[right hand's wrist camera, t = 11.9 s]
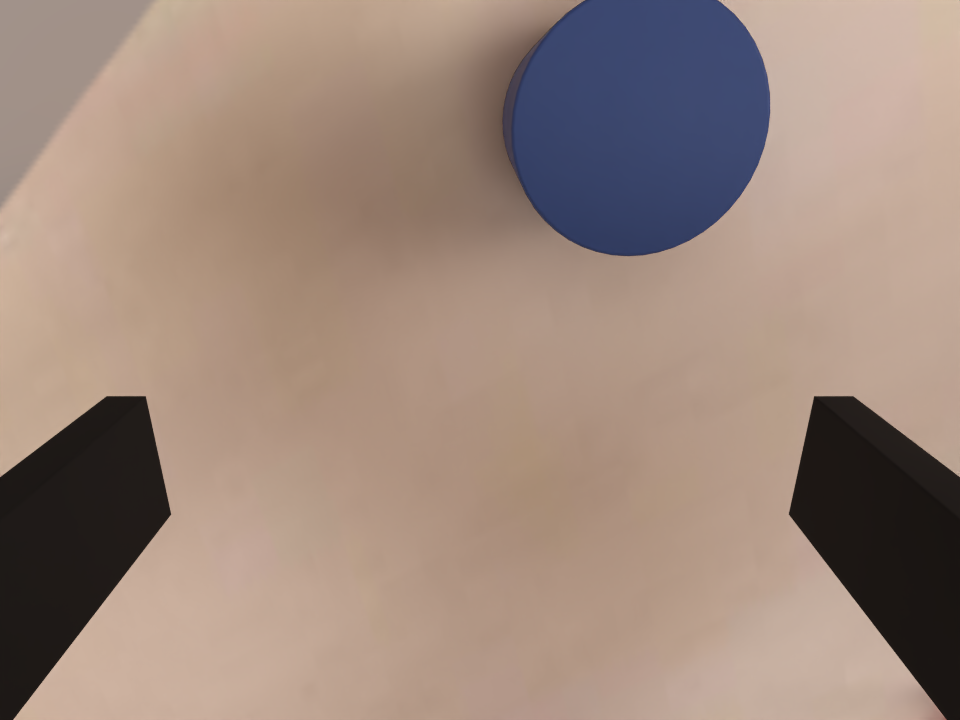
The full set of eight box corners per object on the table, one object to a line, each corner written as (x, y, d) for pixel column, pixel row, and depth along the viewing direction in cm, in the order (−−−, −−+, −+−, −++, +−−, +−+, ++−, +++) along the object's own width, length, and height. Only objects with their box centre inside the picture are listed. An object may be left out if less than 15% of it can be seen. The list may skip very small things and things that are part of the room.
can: (713, 156, 23) (807, 179, 16) (554, 244, 24) (581, 299, 17) (640, -24, 21) (713, -82, 14) (468, 83, 22) (463, 76, 15)
